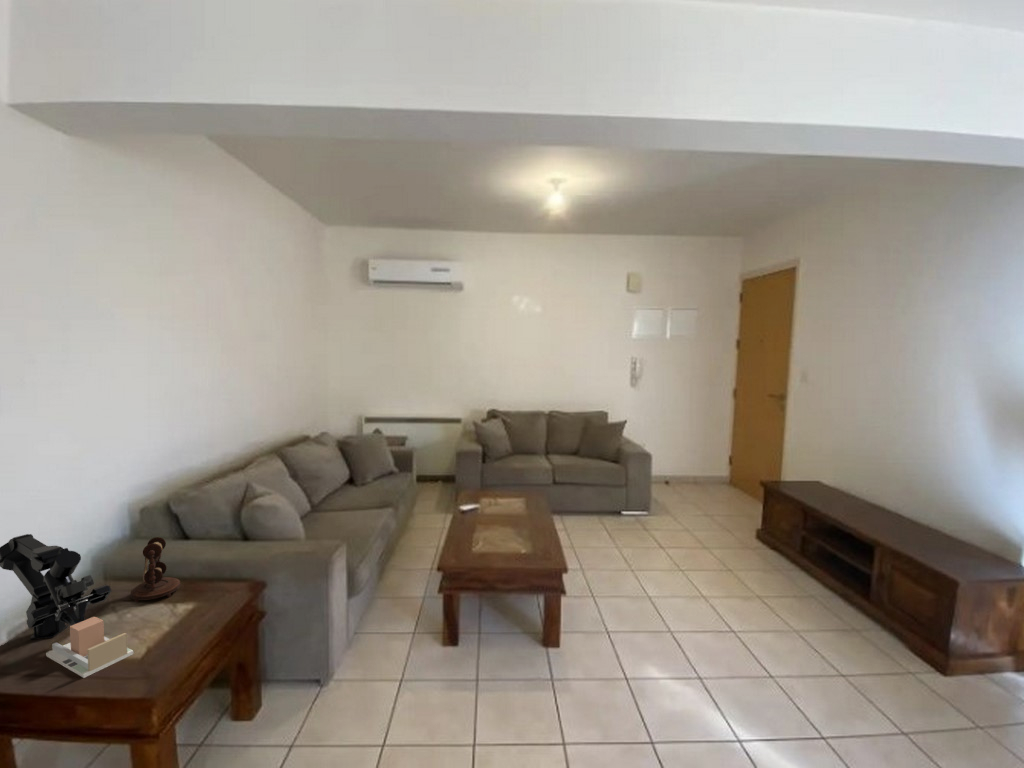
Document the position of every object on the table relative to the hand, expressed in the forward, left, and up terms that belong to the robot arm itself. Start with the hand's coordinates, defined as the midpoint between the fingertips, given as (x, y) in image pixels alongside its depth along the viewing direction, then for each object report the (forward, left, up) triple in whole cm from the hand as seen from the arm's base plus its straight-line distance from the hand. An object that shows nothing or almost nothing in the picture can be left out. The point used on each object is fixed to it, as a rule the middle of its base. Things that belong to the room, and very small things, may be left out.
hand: (82, 629), depth 146 cm
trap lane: (+3, -2, -7) cm, 8 cm away
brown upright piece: (+2, +35, -7) cm, 36 cm away
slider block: (+2, -2, -5) cm, 6 cm away
